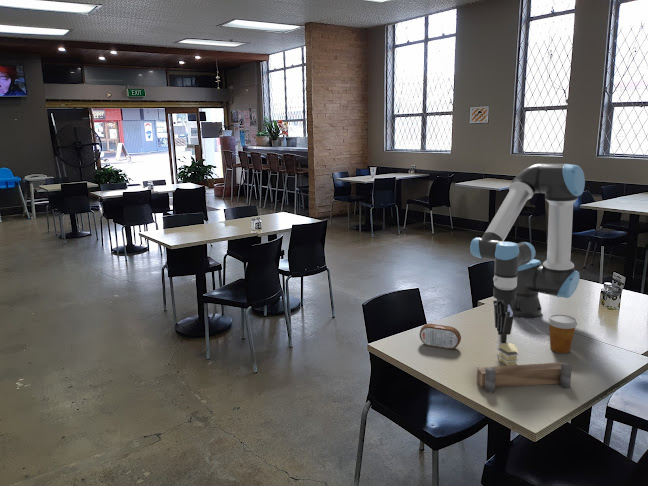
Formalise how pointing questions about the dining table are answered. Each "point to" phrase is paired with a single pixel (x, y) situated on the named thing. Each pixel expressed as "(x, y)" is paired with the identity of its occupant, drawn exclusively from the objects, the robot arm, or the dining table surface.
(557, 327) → the disposable coffee cup
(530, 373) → the bar
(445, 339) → the tin
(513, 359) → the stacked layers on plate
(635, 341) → the dining table surface
